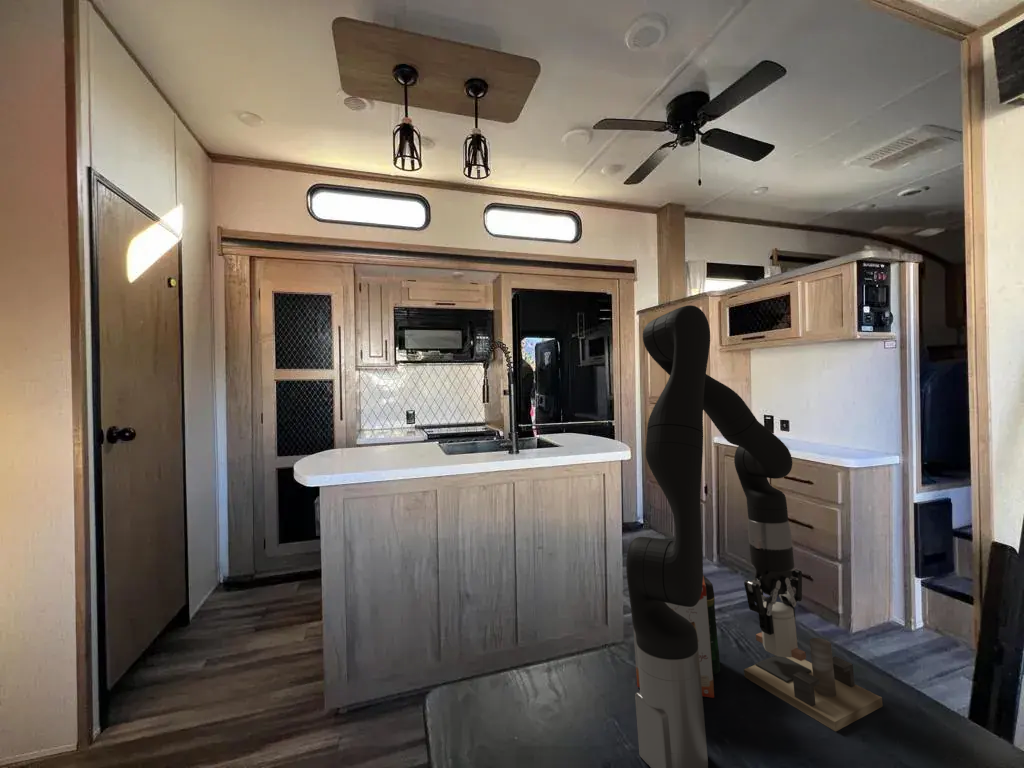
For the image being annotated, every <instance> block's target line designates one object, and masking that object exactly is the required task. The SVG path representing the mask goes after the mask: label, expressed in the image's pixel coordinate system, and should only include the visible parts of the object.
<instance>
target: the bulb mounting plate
mask: <svg viewBox="0 0 1024 768" xmlns="http://www.w3.org/2000/svg"><path fill="white" fill-rule="evenodd" d="M809 645H810V646H809V647H810V658H811V662H810V661H808V660H806V659H804V660H802V661H800V660H797V659H795V658H793V657H791V658H790V657H786V658H788V659H790V660H792V661H794V662H796V663H798V664H800V665H802V666H804V667H806V668H808V669H810V670H811V671H812V672H811V673H809V674H808V673H806V672H804V671H800V672H798V673H796V674H793V681H791V682H788V683H786V682H784V681H782V680H781V679H779V678H777V677H775V676H773V675H772V674H770V673H768V672H766V671H764V670H763V669H761V668H759V667H757V666H755V664H754V665H752V666H749V667H746V668H744V669H743V674H744V675H743V676H744V678H745V679H747V680H749V681H750V682H752V683H753V684H755V685H757V686H758V687H761V688H762V689H764V690H765V691H767V692H769V693H770V694H772V695H774V697H777V698H779V699H780V700H782V701H783V702H785V703H787V704H788V705H790V706H792V707H794V708H795V709H797V710H798V711H801V713H804V714H806V715H807V716H809V717H811V718H812V719H813V720H816V721H817V722H819V723H820V724H822V725H823V726H825V727H827V728H829V729H831V730H832V731H834V732H838V731H840V730H841V729H843V728H845V727H847V726H849V725H851V724H852V723H854V722H856V721H858V720H860V719H862V718H864V717H866V716H867V715H870V714H871V713H873V712H875V711H876V710H879V709H880V708H883V706H884V705H883V697H882V696H879V695H877V694H875V693H873V692H871V691H870V690H867V689H865V688H863V687H862V686H859V685H857V684H855V673H854V666H853V664H852V663H851V662H849V661H847V660H844V659H842V658H840V657H837V656H833V650H832V643H831V642H830V641H828V640H826V639H823V638H820V637H813V638H810V639H809Z"/></svg>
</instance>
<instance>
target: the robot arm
mask: <svg viewBox="0 0 1024 768" xmlns="http://www.w3.org/2000/svg"><path fill="white" fill-rule="evenodd" d="M642 342H643V344H644V348H645V350H646V351H647V353H648V354H649V355H650V357H651V359H653V361H654V362H655V363H657V365H658V366H659V367H660V368H661V369H663V370H664V372H665V373H666V374H668V376H669V378H668V380H667V382H666V384H665V386H664V388H663V390H662V392H661V393H660V394H659V397H658V399H657V401H656V402H655V404H654V406H653V408H652V411H651V413H650V415H649V418H648V422H647V427H646V439H645V440H646V441H645V458H646V462H647V465H648V467H649V470H650V471H651V473H652V474H653V477H654V479H655V480H656V482H657V483H658V486H659V487H660V489H661V491H662V492H663V494H664V496H665V498H666V500H667V503H668V504H669V507H670V509H671V512H672V516H673V521H674V528H675V540H672V539H663V538H655V537H650V536H648V537H647V536H637V537H636V538H634V539H633V540H632V541H631V542H630V543H629V546H628V549H627V553H626V559H625V560H626V562H625V563H626V566H625V570H626V578H627V579H626V580H627V581H626V582H627V588H628V596H629V602H630V603H629V604H630V613H631V622H632V626H633V627H634V630H633V632H634V631H635V633H636V642H637V655H638V670H639V684H640V687H639V691H638V692H635V694H634V698H635V700H634V701H635V711H636V712H635V713H636V725H637V727H636V728H637V741H638V749H639V750H638V753H639V756H640V757H639V758H641V759H642V760H643V761H644V762H645V764H647V765H648V766H649V767H650V768H709V761H708V759H709V758H708V748H707V747H708V746H707V737H706V726H705V723H706V722H705V712H704V711H705V710H704V701H703V700H704V699H703V696H702V686H701V674H700V662H699V650H698V638H697V632H696V629H695V627H694V626H693V625H692V623H691V622H689V621H688V620H687V619H686V618H684V617H683V616H681V615H679V614H678V613H676V612H675V611H674V610H672V609H671V608H670V607H669V606H668V605H667V604H666V603H671V604H675V605H680V606H685V607H693V606H695V605H696V604H697V603H698V601H699V599H700V597H701V592H702V586H703V575H704V562H703V561H704V558H703V557H704V556H703V555H704V554H703V539H702V534H703V533H702V512H701V508H702V507H701V500H702V499H701V497H702V496H701V494H702V493H701V491H702V473H703V472H702V469H703V468H702V467H703V457H704V456H703V455H704V452H703V451H704V412H705V414H706V416H708V417H709V419H710V420H711V422H712V423H713V424H714V426H715V427H716V429H717V430H718V432H720V434H721V436H722V437H723V438H724V440H726V441H727V442H728V443H729V444H732V445H735V446H737V448H736V450H735V453H734V461H733V463H734V468H735V472H736V475H737V476H738V479H739V482H740V485H741V487H742V488H741V489H742V491H743V493H744V495H745V498H746V508H747V518H748V520H747V521H748V523H747V532H748V535H747V536H748V544H749V555H750V562H751V565H752V566H753V567H754V569H755V575H754V579H752V580H747V579H745V580H744V582H743V583H744V584H743V585H744V590H745V594H746V599H747V605H748V609H749V610H750V611H752V612H755V613H757V614H758V621H759V628H760V630H761V632H762V631H763V632H765V633H767V634H769V635H771V634H773V633H774V631H773V620H772V615H771V612H772V607H773V604H775V603H776V602H777V599H778V597H779V599H780V603H784V604H787V605H789V606H791V607H792V608H793V611H794V617H795V620H797V619H796V609H795V607H796V606H797V602H799V603H800V602H802V600H803V572H802V570H799V569H795V558H794V547H793V539H792V538H793V537H792V530H791V526H790V523H789V522H790V521H789V514H788V513H789V511H788V503H787V497H786V495H785V493H784V492H783V491H782V490H780V489H777V488H775V487H773V486H772V485H771V484H770V482H769V480H768V479H774V480H775V479H782V478H785V477H787V476H788V475H789V474H790V472H791V471H792V468H793V457H792V454H791V452H790V450H789V449H788V447H787V446H786V444H785V443H784V441H782V440H781V439H780V438H779V437H777V436H776V435H775V434H774V433H773V432H772V431H771V430H770V429H769V428H767V427H766V426H765V425H764V424H762V423H761V422H759V420H757V418H756V415H754V413H753V412H752V410H751V409H750V408H749V406H748V405H747V404H746V402H745V401H744V399H743V398H742V397H741V396H740V395H739V394H738V393H737V391H734V389H732V388H730V387H729V386H727V385H726V384H724V383H722V382H721V381H720V380H719V381H718V380H717V379H715V378H714V377H711V376H710V375H709V374H707V370H708V369H707V367H708V361H709V354H710V346H711V328H710V323H709V321H708V318H707V316H706V314H705V312H704V311H703V310H702V309H701V308H699V307H698V306H696V305H684V306H680V307H678V308H675V309H674V310H672V311H669V312H667V313H665V314H663V315H661V316H658V317H657V318H655V319H653V320H650V321H649V322H648V323H647V324H646V325H645V327H644V329H643V331H642ZM793 588H795V592H794V589H793ZM764 594H765V595H768V596H769V597H767V596H765V595H764ZM665 602H666V603H665ZM763 602H767V603H766V608H765V607H764V605H763ZM633 627H632V628H633Z"/></svg>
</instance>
